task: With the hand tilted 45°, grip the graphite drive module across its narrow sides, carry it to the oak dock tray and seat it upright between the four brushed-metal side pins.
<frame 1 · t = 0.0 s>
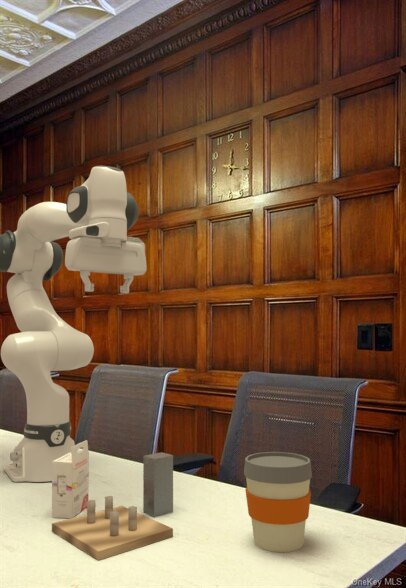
hand: (107, 292, 126), 48 cm above the table, tool pointing down, fingers open, 8 cm apart
ink cartridge box: (70, 512, 116), on the table
drive module: (158, 512, 116), on the table
reusable coffee cup: (278, 543, 99), on the table
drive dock: (111, 533, 103), on the table
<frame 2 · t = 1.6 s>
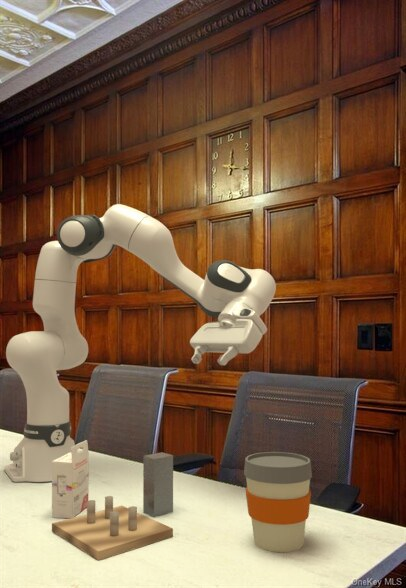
hand: (207, 362, 127), 31 cm above the table, tool tilted 45°, fingers open, 8 cm apart
nothing on the table moved.
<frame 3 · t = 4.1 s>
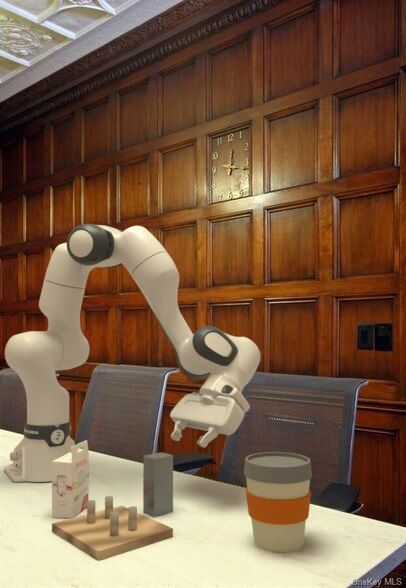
hand: (187, 442, 122), 14 cm above the table, tool tilted 45°, fingers open, 8 cm apart
nothing on the table moved.
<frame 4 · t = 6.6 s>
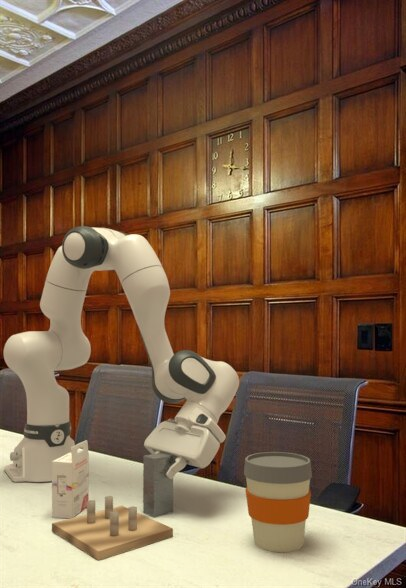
hand: (159, 474, 116), 8 cm above the table, tool tilted 45°, fingers closed on drive module, 4 cm apart
drive module: (158, 512, 116), on the table, touching gripper
everything else where it was.
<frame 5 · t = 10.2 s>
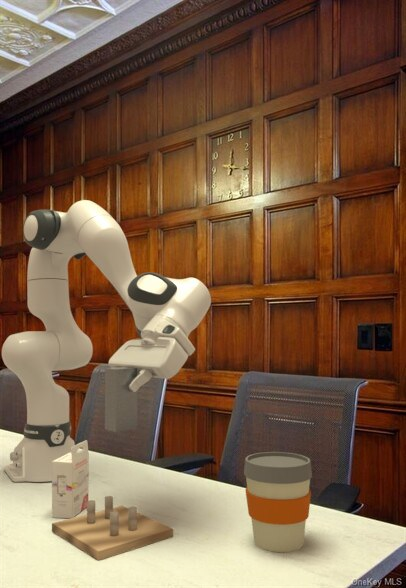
hand: (122, 388, 107), 27 cm above the table, tool tilted 45°, fingers closed on drive module, 4 cm apart
drive module: (121, 429, 107), point 20 cm above the table, touching gripper
everything else where it was.
when the fingers open (11 cm above the table, at t = 14.0 s): drive module drops 1 cm, resting on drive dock.
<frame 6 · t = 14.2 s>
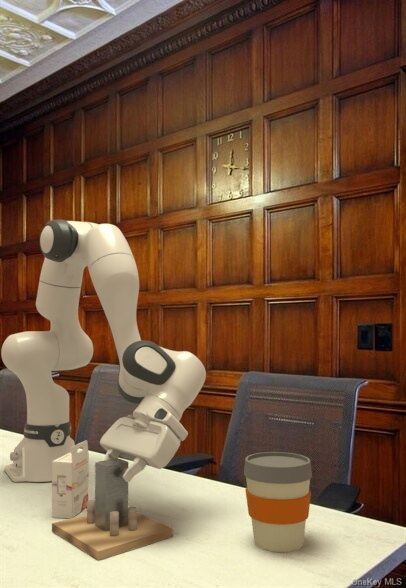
hand: (113, 475, 104), 11 cm above the table, tool tilted 45°, fingers open, 6 cm apart
drive module: (111, 525, 104), point 2 cm above the table, touching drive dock
everything else where it was.
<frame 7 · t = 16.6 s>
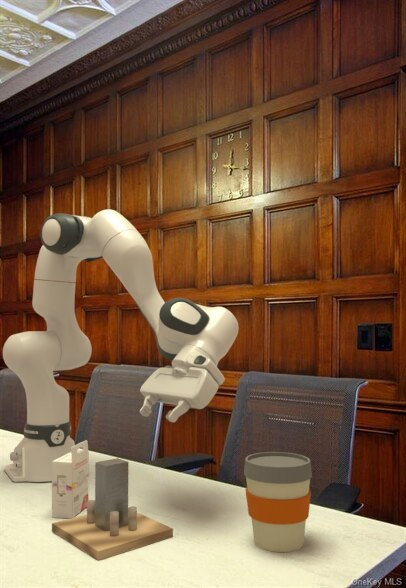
hand: (155, 417, 112), 21 cm above the table, tool tilted 45°, fingers open, 8 cm apart
nothing on the table moved.
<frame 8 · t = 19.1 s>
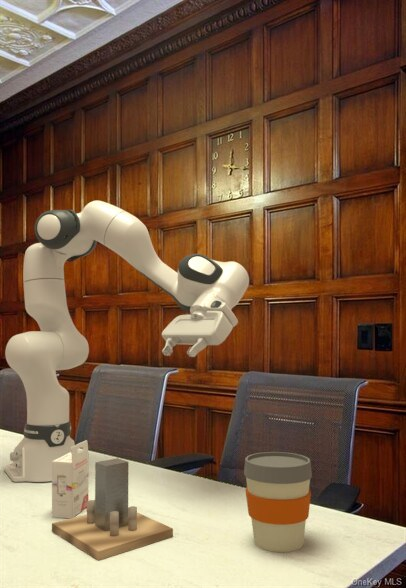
hand: (177, 354, 126), 33 cm above the table, tool tilted 45°, fingers open, 8 cm apart
nothing on the table moved.
at the end: drive module 0.2 cm off-centre on the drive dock, point 1.5 cm above the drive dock's base; drive module tilted 0°; the gripper is holding nothing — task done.
